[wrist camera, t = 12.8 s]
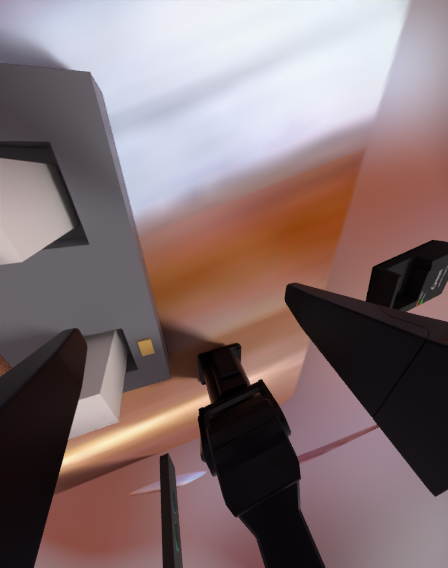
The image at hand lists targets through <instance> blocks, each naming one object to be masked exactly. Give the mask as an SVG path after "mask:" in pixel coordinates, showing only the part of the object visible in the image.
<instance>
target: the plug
mask: <svg viewBox="0 0 448 568" xmlns="http://www.w3.org/2000/svg"><path fill="white" fill-rule="evenodd" d="M84 339H85V341H86V343H87V348H88V349H87V357H86V364H85V371H84V378H83V384H82V389H81V394H80V397H79V401H78V405H77V409H76V412H75V416H74V420H73V424H72V427H71V431H70V435H69V438H68V439H71V438H74V437H77V436H80V435H83V434H86V433H88V432H91V431H94V430H97V429H100V428H103V427H106V426H108V425H111V424H114V423H117V422H119V415H120V408H121V400H122V393H123V386H124V378H125V371H126V363H127V356H128V346H127V344H126V341H125V339H124V337H123V334H122V332H121V330H120V329H116V330H111V331H107V332H102V333H98V334H93V335H89V336H84Z"/></svg>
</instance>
